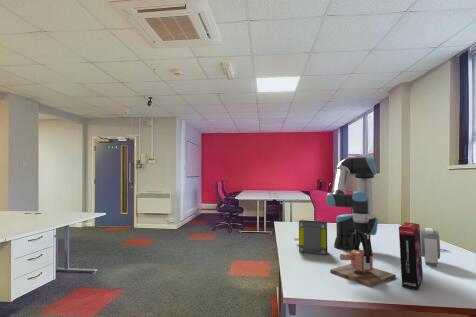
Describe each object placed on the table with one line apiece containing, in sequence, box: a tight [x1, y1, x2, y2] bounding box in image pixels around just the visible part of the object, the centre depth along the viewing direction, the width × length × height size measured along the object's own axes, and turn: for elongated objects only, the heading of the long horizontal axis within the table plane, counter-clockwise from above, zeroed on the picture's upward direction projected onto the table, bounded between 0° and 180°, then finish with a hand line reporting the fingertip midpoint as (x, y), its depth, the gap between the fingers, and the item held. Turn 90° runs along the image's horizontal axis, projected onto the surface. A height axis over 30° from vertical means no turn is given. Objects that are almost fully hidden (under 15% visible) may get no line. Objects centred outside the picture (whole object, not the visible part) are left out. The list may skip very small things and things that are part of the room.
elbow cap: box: [339, 249, 374, 271], centre depth 136 cm, size 16×9×8 cm, turn 92°
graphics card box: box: [398, 221, 424, 291], centre depth 126 cm, size 17×7×27 cm, turn 139°
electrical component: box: [298, 219, 328, 256], centre depth 178 cm, size 18×10×20 cm, turn 68°
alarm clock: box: [420, 227, 441, 268], centre depth 156 cm, size 18×8×20 cm, turn 148°
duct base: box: [329, 263, 397, 288], centre depth 136 cm, size 22×22×10 cm
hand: (361, 265), depth 136 cm, fingers closed on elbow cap, 9 cm apart
